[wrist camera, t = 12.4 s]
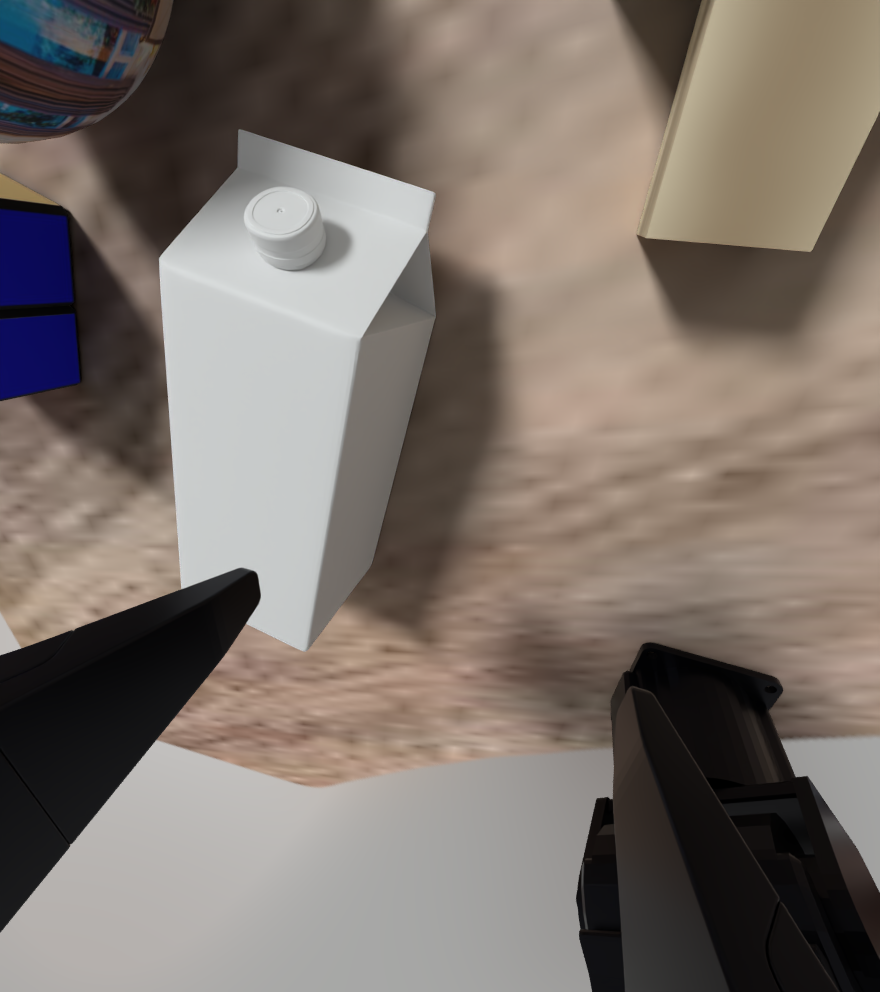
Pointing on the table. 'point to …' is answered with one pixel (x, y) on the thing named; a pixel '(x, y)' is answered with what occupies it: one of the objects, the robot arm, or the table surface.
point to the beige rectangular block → (765, 122)
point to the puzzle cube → (35, 295)
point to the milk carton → (293, 374)
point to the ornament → (72, 61)
